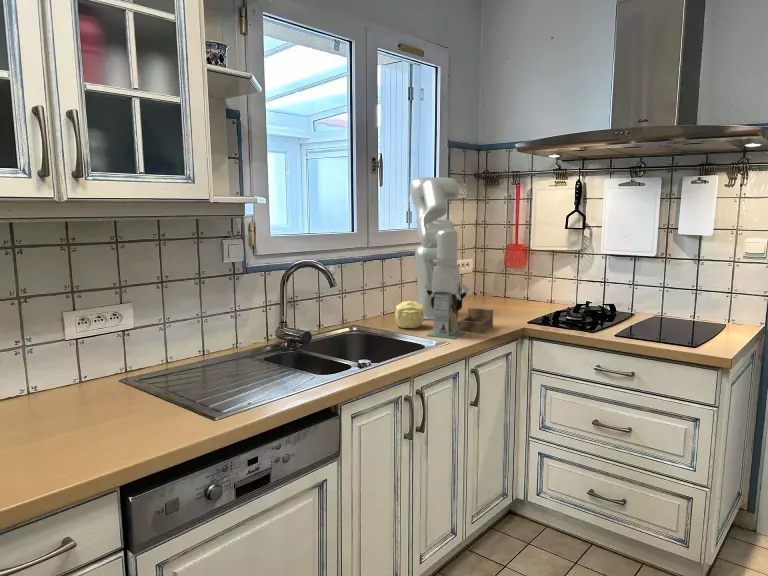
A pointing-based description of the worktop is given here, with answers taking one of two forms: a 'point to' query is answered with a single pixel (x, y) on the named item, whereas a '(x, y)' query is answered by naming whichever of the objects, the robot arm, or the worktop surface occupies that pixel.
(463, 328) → the packet holder
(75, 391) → the worktop surface
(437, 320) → the coffee box
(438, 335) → the mat
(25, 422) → the worktop surface
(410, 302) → the sculpture
